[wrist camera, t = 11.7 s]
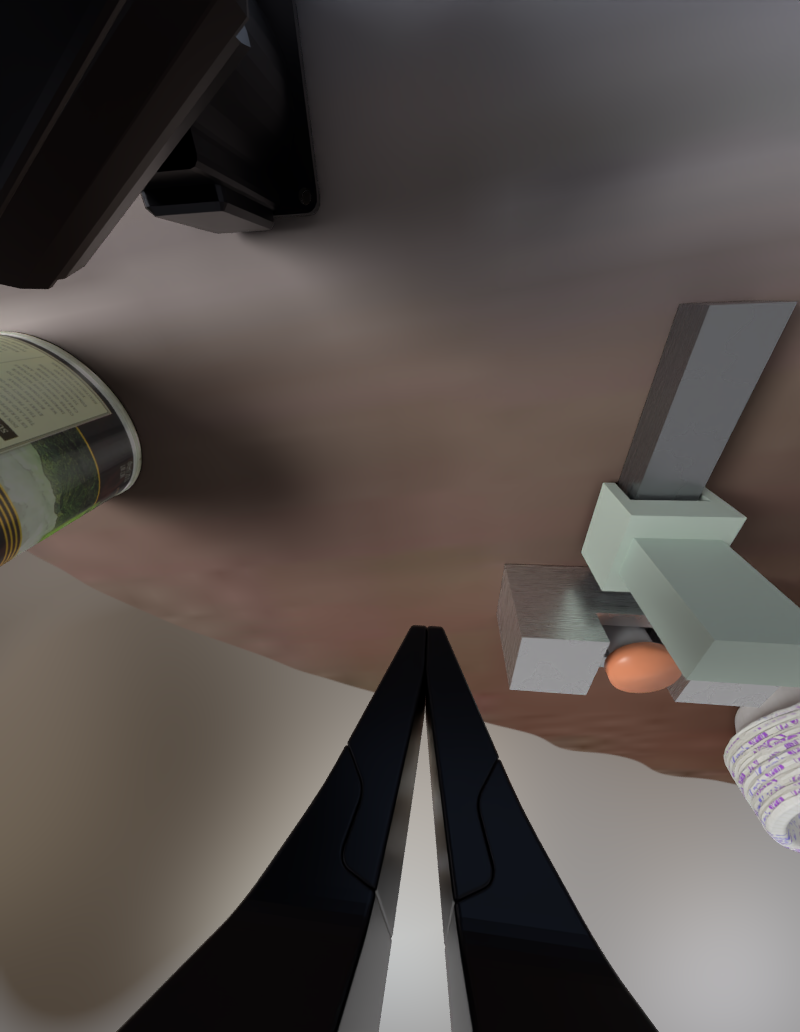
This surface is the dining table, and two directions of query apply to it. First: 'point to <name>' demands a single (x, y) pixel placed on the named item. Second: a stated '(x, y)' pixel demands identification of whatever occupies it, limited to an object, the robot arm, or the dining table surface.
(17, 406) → the coffee can
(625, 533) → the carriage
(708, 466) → the rail
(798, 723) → the paper bowls
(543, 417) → the dining table surface
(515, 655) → the grey blocky piece
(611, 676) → the orange knob lever
